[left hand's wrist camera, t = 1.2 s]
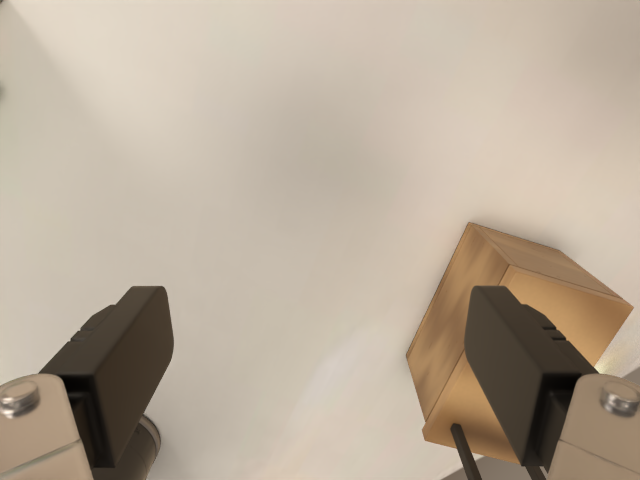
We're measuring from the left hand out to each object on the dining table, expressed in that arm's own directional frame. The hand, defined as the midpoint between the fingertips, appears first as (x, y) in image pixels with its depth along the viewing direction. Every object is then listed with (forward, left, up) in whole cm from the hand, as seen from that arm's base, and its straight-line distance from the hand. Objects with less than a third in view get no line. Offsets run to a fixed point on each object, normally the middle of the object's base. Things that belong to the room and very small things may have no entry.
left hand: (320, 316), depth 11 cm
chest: (-8, -21, -27) cm, 35 cm away
